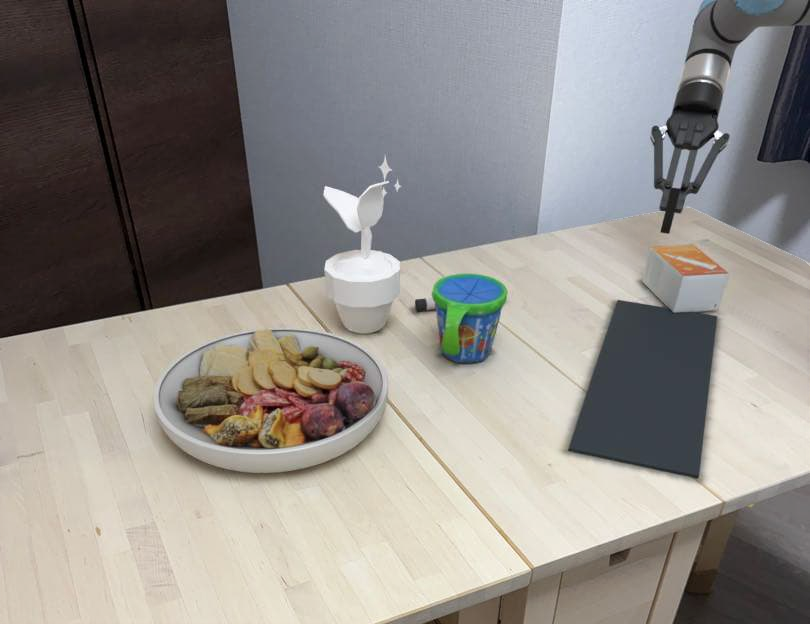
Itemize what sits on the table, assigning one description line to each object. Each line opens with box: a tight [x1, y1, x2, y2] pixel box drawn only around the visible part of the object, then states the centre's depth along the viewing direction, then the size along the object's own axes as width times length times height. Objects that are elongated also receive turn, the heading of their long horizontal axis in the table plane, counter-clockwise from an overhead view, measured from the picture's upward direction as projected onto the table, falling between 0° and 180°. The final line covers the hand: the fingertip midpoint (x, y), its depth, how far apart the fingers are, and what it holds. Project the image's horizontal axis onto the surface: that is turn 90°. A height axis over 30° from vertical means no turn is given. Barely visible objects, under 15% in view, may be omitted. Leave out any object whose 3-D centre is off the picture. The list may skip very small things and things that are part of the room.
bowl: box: [152, 326, 389, 474], centre depth 97 cm, size 30×30×8 cm
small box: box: [641, 243, 730, 313], centre depth 124 cm, size 8×6×13 cm
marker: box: [414, 297, 436, 313], centre depth 122 cm, size 15×2×2 cm, turn 104°
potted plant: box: [323, 154, 403, 334], centre depth 109 cm, size 13×12×25 cm
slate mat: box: [567, 299, 718, 480], centre depth 107 cm, size 16×44×1 cm, turn 160°
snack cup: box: [431, 273, 509, 364], centre depth 109 cm, size 16×10×10 cm
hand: (665, 229), depth 125 cm, fingers closed
